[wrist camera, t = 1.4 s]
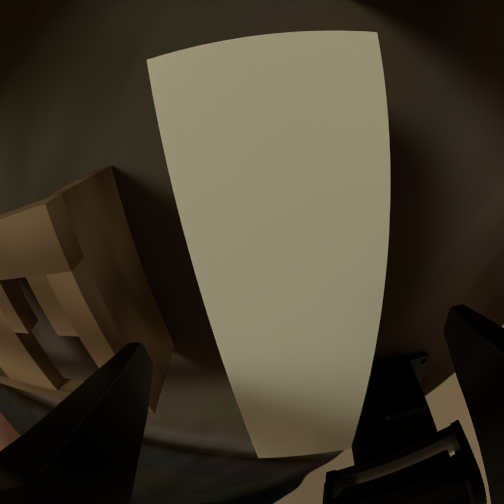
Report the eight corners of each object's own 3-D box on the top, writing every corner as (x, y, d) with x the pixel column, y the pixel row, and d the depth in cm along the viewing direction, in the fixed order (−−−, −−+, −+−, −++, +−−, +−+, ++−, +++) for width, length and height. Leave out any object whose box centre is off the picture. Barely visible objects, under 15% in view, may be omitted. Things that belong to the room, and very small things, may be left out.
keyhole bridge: (174, 345, 17) (154, 413, 13) (6, 337, 19) (-20, 375, 15) (111, 165, 12) (45, 203, 8) (-49, 228, 14) (-89, 259, 9)
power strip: (313, 69, 10) (377, 32, 4) (329, 339, 16) (350, 448, 10) (212, 82, 10) (146, 59, 4) (260, 346, 17) (258, 458, 11)
